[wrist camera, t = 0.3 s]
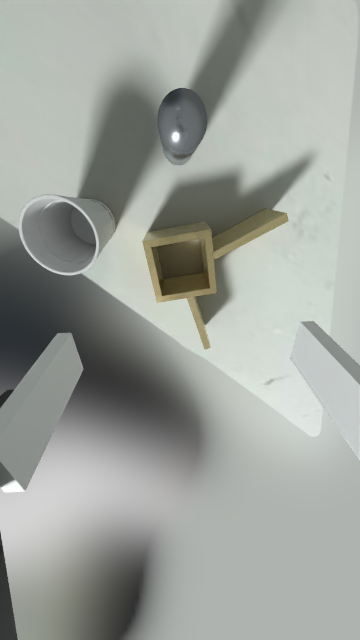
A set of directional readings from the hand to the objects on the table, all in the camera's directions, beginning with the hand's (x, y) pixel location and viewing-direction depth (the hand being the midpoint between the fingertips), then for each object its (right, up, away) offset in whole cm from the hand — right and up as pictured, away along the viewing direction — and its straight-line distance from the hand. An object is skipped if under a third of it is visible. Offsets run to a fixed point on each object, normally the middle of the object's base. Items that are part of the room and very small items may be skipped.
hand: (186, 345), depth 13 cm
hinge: (+5, +9, +26) cm, 27 cm away
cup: (-13, +16, +21) cm, 29 cm away
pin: (-1, +24, +16) cm, 29 cm away
